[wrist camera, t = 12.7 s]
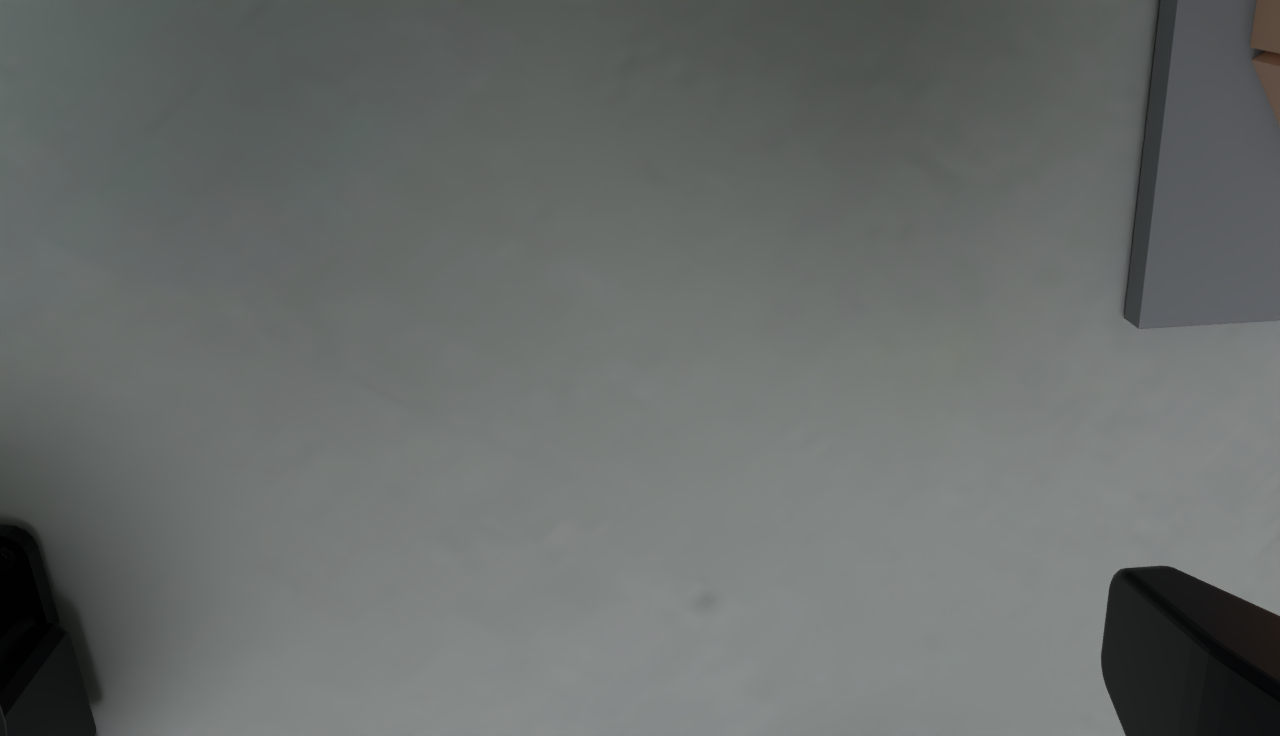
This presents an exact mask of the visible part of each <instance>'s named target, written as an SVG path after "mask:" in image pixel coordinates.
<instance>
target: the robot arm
mask: <svg viewBox="0 0 1280 736" xmlns="http://www.w3.org/2000/svg"><path fill="white" fill-rule="evenodd" d="M0 547H4V548H7V549H8V550H10V551H11V552H12V553H13V555H14V556H15V559H10V558H7V557H5V556H4V555H2V554H1V552H0V736H94V735H95V733H96V726H95V723H94V719H93V716H92V712H91V709H90V705H89V702H88V698H87V695H86V691H85V688H84V684H83V681H82V677H81V674H80V670H79V666H78V663H77V659H76V656H75V652H74V649H73V645H72V642H71V638H70V635H69V633H68V632H67V631H66V630H65V628H64V627H63V626H62V625H61V624H60V622H59V618H58V615H57V611H56V608H55V604H54V601H53V597H52V594H51V590H50V587H49V583H48V580H47V576H46V573H45V569H44V566H43V562H42V559H41V555H40V552H39V548H38V545H37V543H36V542H35V540H34V538H33V537H32V536H31V535H30V534H29V533H28V532H27V531H26V530H24V529H21V528H19V527H17V526H12V525H0ZM1101 666H1102V673H1103V678H1104V682H1105V685H1106V688H1107V690H1108V693H1109V695H1110V698H1111V700H1112V703H1113V705H1114V708H1115V710H1116V713H1117V715H1118V718H1119V720H1120V723H1121V725H1122V727H1123V730H1124V732H1125V735H1126V736H1280V616H1278V615H1276V614H1274V613H1272V612H1270V611H1267V610H1265V609H1263V608H1261V607H1259V606H1256V605H1254V604H1252V603H1250V602H1248V601H1245V600H1243V599H1241V598H1239V597H1237V596H1234V595H1232V594H1230V593H1228V592H1226V591H1223V590H1221V589H1219V588H1217V587H1215V586H1212V585H1210V584H1208V583H1206V582H1204V581H1201V580H1199V579H1197V578H1195V577H1193V576H1190V575H1188V574H1186V573H1184V572H1182V571H1179V570H1177V569H1175V568H1172V567H1169V566H1150V567H1135V568H1124V569H1120V570H1119V571H1118V572H1117V573H1116V574H1115V575H1114V576H1113V578H1112V581H1111V583H1110V588H1109V595H1108V603H1107V611H1106V619H1105V627H1104V636H1103V644H1102V652H1101Z"/></svg>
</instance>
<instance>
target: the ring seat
mask: <svg viewBox="0 0 1280 736" xmlns="http://www.w3.org/2000/svg"><path fill="white" fill-rule="evenodd" d="M1124 318H1125V319H1126V320H1128V321H1129V322H1130V323H1132V324H1133V325H1134V326H1136V327H1137V328H1138V329H1145V328H1161V327H1178V326H1194V325H1211V324H1227V323H1244V322H1260V321H1277V320H1280V0H1160V9H1159V17H1158V26H1157V35H1156V44H1155V52H1154V61H1153V70H1152V79H1151V88H1150V96H1149V105H1148V114H1147V123H1146V132H1145V140H1144V149H1143V158H1142V167H1141V175H1140V184H1139V193H1138V202H1137V211H1136V219H1135V228H1134V237H1133V246H1132V255H1131V263H1130V272H1129V281H1128V290H1127V298H1126V307H1125V316H1124Z"/></svg>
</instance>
